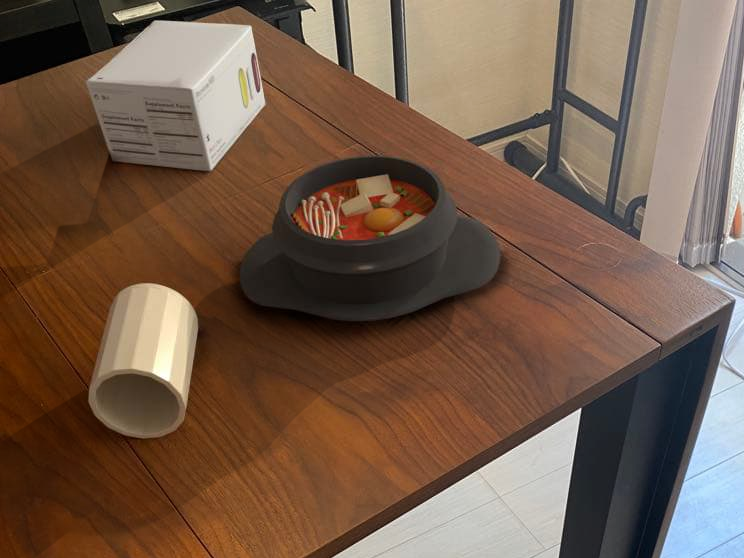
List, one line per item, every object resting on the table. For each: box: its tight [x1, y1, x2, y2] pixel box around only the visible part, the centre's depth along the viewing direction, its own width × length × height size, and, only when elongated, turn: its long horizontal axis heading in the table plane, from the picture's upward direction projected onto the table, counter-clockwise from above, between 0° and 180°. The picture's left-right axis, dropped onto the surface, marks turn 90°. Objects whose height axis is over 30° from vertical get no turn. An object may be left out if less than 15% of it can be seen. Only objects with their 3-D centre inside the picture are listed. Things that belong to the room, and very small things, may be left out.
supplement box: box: [85, 20, 266, 172], centre depth 98 cm, size 17×13×9 cm
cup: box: [87, 282, 199, 440], centre depth 70 cm, size 7×7×11 cm
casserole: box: [238, 155, 501, 322], centre depth 78 cm, size 25×19×8 cm
